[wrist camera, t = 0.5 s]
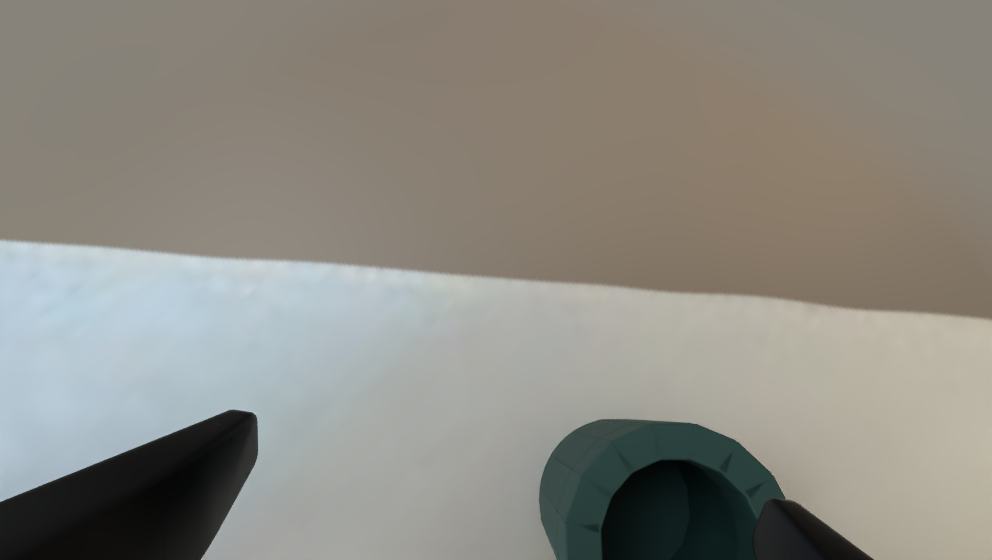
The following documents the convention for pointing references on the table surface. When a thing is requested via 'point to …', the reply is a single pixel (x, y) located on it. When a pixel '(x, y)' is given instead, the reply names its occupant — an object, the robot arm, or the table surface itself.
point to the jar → (652, 493)
